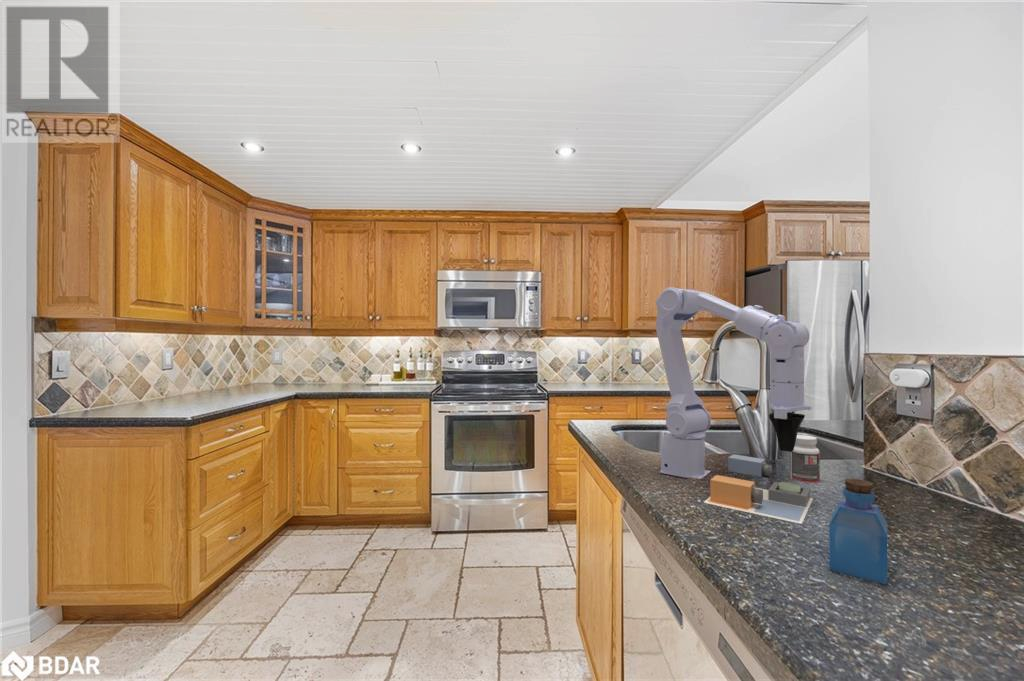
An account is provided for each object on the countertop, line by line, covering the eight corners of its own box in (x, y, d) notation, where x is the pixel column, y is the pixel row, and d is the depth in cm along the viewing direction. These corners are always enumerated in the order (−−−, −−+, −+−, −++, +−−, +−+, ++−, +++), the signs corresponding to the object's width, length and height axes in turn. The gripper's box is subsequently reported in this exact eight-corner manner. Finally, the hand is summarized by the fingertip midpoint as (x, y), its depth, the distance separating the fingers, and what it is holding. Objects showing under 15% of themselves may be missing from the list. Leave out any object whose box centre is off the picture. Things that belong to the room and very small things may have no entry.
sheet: (703, 505, 87) (703, 502, 87) (725, 484, 99) (725, 482, 99) (801, 527, 77) (801, 523, 77) (813, 501, 89) (813, 498, 89)
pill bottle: (825, 485, 99) (825, 439, 99) (799, 485, 99) (799, 439, 99) (809, 477, 105) (809, 434, 105) (784, 477, 105) (784, 434, 105)
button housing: (768, 500, 88) (768, 489, 88) (774, 491, 93) (774, 481, 93) (806, 507, 84) (806, 496, 84) (810, 498, 89) (810, 488, 89)
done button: (777, 495, 89) (777, 485, 89) (780, 490, 91) (780, 480, 91) (799, 499, 86) (799, 489, 86) (801, 494, 89) (801, 484, 89)
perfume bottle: (833, 553, 68) (833, 472, 68) (887, 566, 64) (887, 481, 64) (829, 569, 63) (829, 483, 63) (887, 584, 59) (887, 492, 59)
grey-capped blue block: (728, 474, 108) (728, 457, 108) (732, 470, 111) (732, 454, 111) (768, 481, 102) (768, 464, 102) (772, 477, 105) (772, 460, 105)
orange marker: (710, 500, 88) (710, 479, 88) (716, 494, 91) (716, 475, 91) (759, 510, 83) (759, 488, 83) (763, 504, 86) (763, 483, 86)
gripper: (805, 386, 82) (805, 461, 82) (815, 380, 93) (815, 446, 93) (761, 383, 86) (761, 455, 86) (776, 378, 97) (776, 441, 97)
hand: (786, 450), depth 90 cm, fingers closed
